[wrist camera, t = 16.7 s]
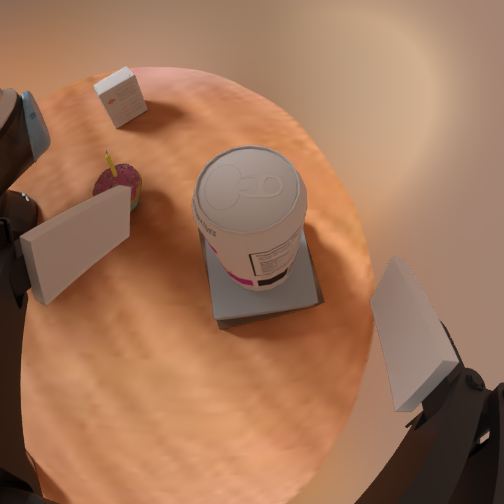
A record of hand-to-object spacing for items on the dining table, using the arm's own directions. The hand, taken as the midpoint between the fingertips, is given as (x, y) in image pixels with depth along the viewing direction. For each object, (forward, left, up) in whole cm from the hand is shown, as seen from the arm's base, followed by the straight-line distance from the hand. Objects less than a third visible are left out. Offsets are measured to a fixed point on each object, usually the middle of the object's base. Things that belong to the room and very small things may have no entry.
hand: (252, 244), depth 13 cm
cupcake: (-21, -16, -26) cm, 37 cm away
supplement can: (-4, +2, -19) cm, 19 cm away
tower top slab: (-4, +2, -23) cm, 23 cm away
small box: (-44, -16, -27) cm, 54 cm away
